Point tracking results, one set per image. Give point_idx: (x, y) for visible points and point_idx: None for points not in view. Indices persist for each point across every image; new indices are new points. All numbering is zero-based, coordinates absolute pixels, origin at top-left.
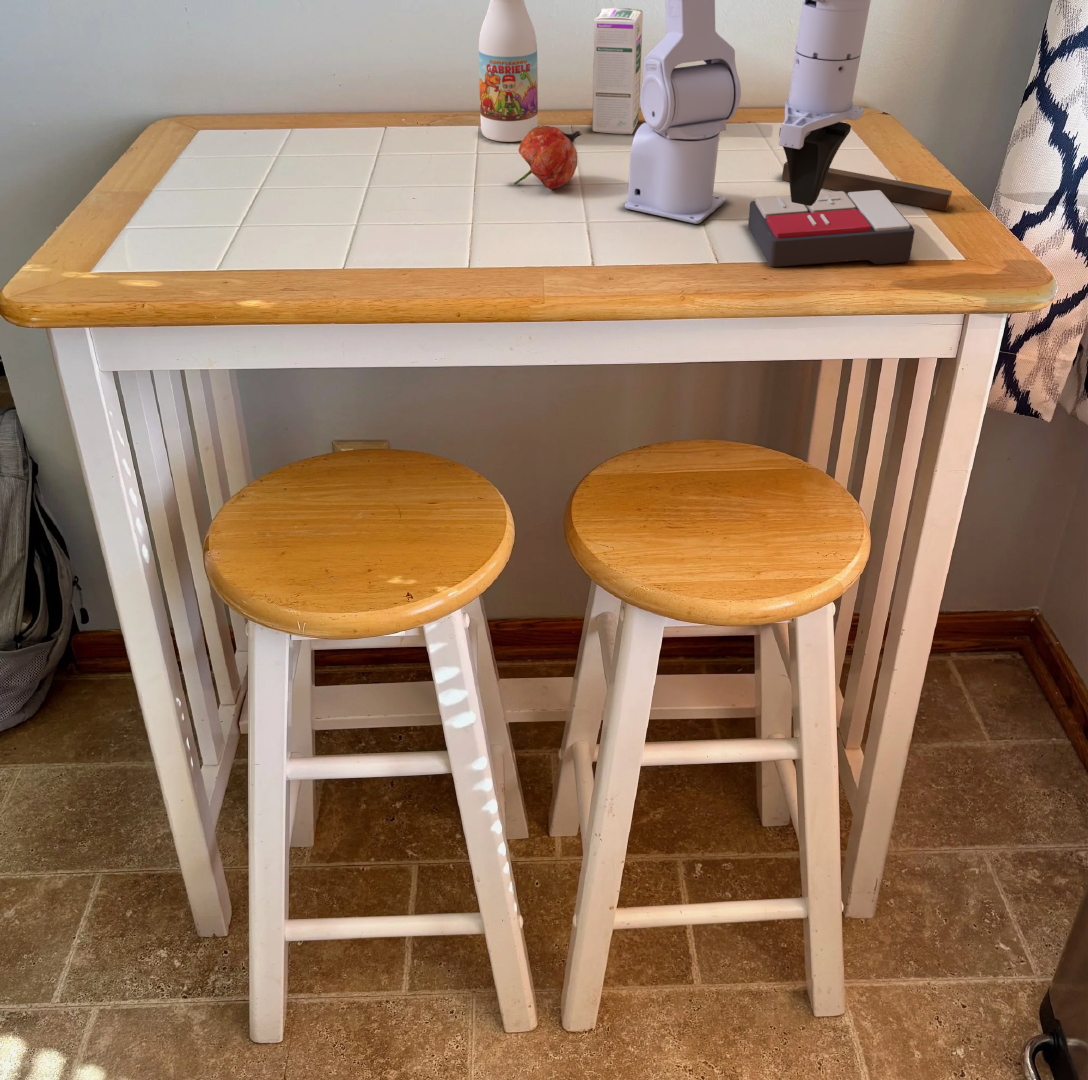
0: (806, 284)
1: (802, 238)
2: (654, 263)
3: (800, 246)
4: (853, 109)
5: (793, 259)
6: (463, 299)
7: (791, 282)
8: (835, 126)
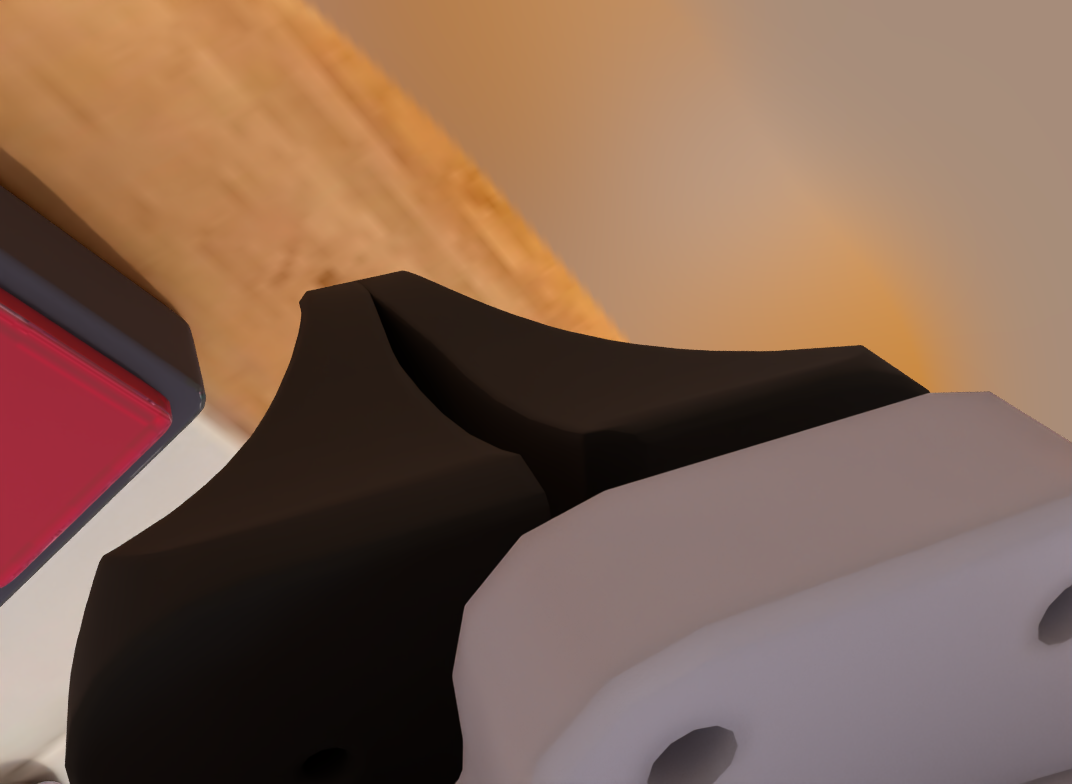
0: (234, 93)
1: (63, 304)
2: None
3: (77, 284)
4: (889, 773)
5: (107, 272)
6: None
7: (269, 166)
8: (411, 733)
